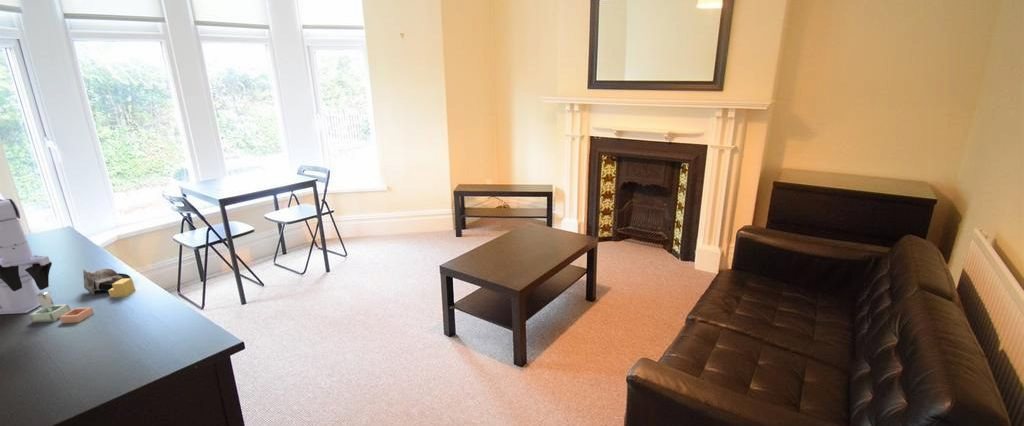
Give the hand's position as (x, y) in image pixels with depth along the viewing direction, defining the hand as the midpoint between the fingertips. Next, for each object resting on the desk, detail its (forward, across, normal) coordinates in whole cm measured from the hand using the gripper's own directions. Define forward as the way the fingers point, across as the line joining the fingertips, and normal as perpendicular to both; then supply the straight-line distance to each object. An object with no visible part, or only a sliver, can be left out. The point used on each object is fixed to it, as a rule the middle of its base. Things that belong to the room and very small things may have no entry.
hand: (31, 288), depth 133 cm
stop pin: (+10, 0, +2) cm, 10 cm away
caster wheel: (+11, +3, +21) cm, 23 cm away
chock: (+11, +10, +16) cm, 22 cm away
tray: (+10, 0, +2) cm, 11 cm away
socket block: (+10, +9, +1) cm, 14 cm away
